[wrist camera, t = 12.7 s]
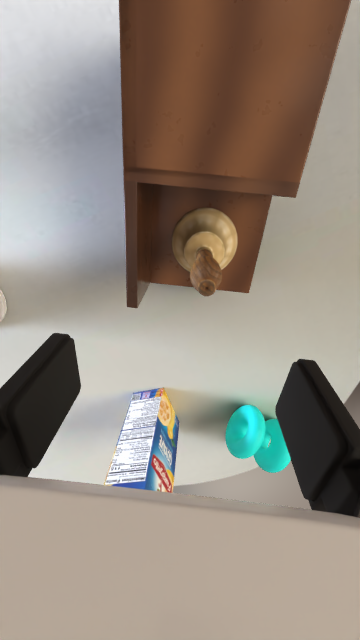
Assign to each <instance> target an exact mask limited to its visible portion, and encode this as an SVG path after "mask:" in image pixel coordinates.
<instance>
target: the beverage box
mask: <svg viewBox="0 0 360 640" xmlns="http://www.w3.org/2000/svg"><path fill="white" fill-rule="evenodd" d="M178 430H179V420H178V418H177V416H176V414H175V412H174V409H173V407H172V405H171V403H170V401H169V399H168V396H167V394H166V392H165V390H164V388H159V389H154V390H148V391H142V392H137V393H133V396H132V399H131V402H130V405H129V408H128V411H127V415H126V418H125V421H124V424H123V427H122V430H121V433H120V436H119V439H118V442H117V445H116V449H115V452H114V455H113V458H112V461H111V464H110V467H109V470H108V473H107V476H106V479H105V482H104V485H107V486H116V487H125V488H134V489H143V490H152V491H160V492H169V493H173V492H172V491H173V483H174V472H175V462H176V451H177V441H178Z"/></svg>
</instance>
